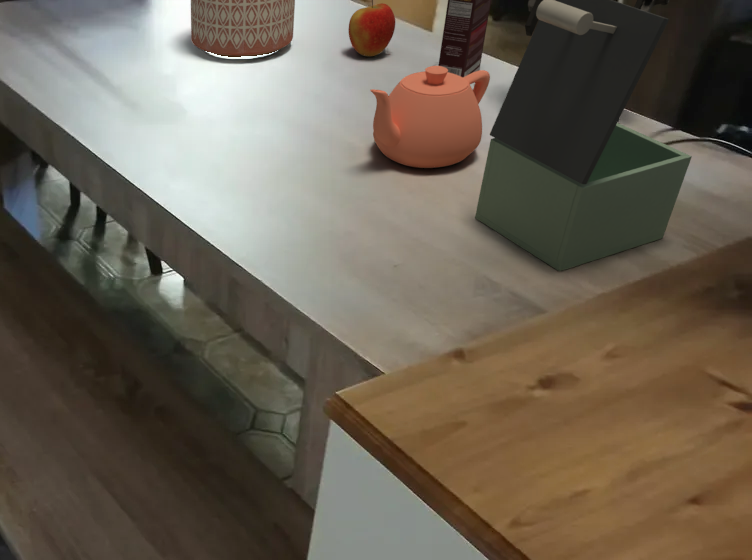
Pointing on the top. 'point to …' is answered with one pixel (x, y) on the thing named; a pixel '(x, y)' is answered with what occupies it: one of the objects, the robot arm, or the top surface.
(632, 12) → the lid
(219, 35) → the planter
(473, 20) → the supplement box
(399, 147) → the teapot
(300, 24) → the top surface
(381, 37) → the apple
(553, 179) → the green open box
